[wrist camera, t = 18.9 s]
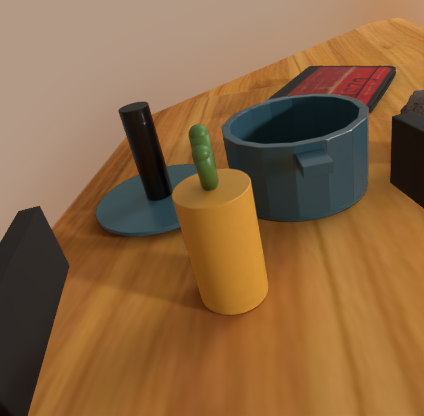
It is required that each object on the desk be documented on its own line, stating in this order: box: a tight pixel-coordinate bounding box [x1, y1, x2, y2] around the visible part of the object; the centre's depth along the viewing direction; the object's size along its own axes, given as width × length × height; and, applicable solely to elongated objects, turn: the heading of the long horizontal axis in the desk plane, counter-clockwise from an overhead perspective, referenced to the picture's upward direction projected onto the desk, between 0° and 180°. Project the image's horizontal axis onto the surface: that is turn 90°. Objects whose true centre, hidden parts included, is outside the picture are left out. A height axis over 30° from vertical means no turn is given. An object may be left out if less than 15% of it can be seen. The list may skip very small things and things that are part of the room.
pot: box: [222, 94, 369, 222], centre depth 39 cm, size 14×19×8 cm
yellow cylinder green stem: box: [172, 124, 268, 315], centre depth 26 cm, size 5×5×13 cm
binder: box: [265, 65, 396, 112], centre depth 64 cm, size 16×2×21 cm
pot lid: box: [96, 102, 197, 236], centre depth 41 cm, size 15×15×11 cm
